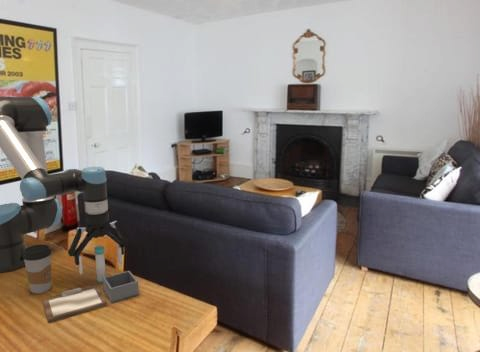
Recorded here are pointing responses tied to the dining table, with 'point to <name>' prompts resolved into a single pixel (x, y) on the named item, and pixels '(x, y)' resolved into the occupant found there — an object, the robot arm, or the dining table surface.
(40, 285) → the coffee cup
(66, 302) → the clipboard
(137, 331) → the dining table surface
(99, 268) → the marker
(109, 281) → the grey open box
